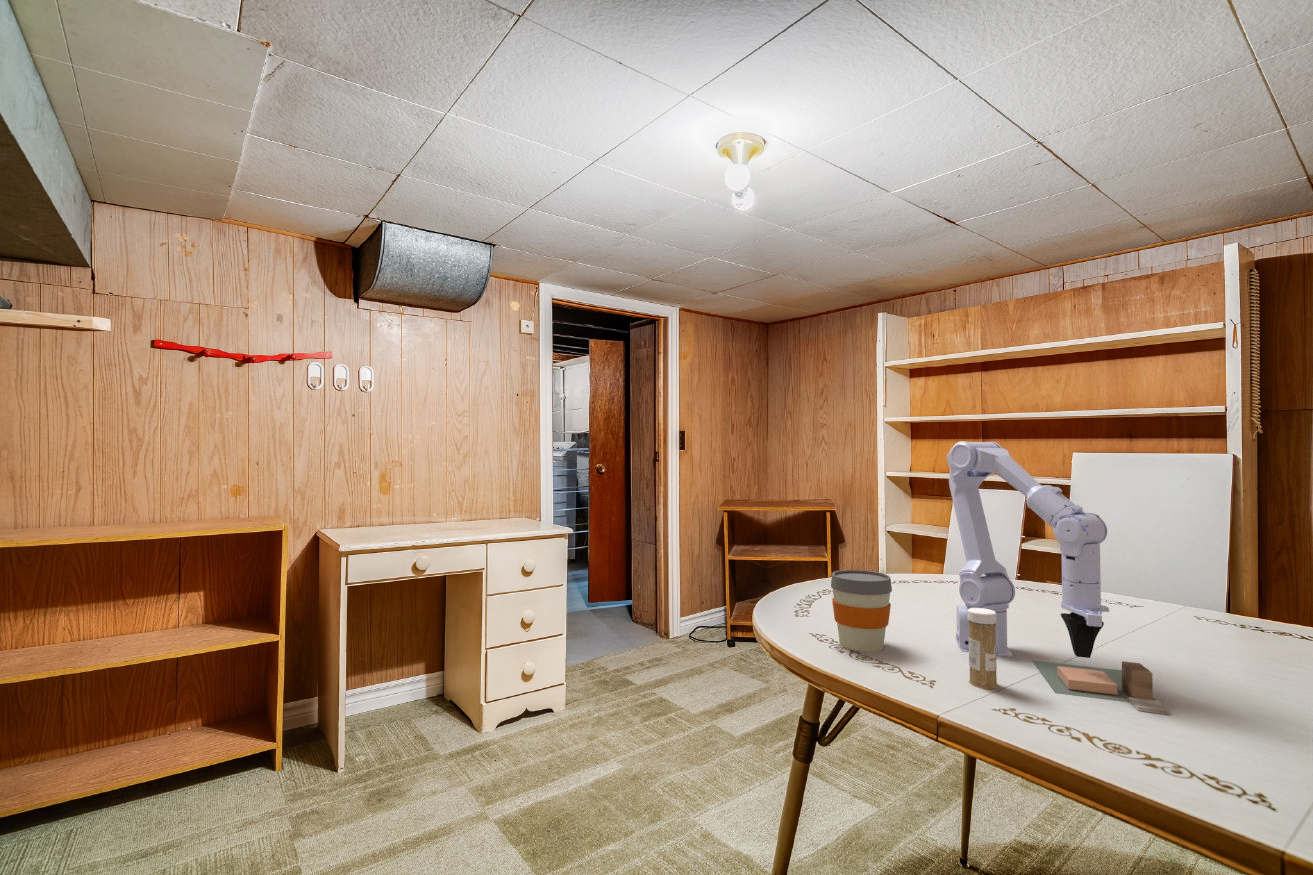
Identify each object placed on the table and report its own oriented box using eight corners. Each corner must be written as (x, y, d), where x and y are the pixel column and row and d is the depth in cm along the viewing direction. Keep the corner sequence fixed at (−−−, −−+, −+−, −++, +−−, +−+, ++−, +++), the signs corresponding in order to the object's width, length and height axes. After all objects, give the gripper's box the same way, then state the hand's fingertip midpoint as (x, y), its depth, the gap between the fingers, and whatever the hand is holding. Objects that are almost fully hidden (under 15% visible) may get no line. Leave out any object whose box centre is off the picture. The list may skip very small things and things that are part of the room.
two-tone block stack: (1117, 689, 103) (1116, 660, 103) (1145, 692, 102) (1144, 663, 102) (1138, 710, 95) (1137, 679, 95) (1169, 714, 93) (1168, 682, 93)
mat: (1055, 695, 102) (1055, 692, 102) (1031, 662, 117) (1031, 660, 117) (1163, 708, 96) (1163, 706, 96) (1123, 672, 112) (1123, 670, 112)
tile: (1057, 675, 109) (1068, 690, 103) (1057, 666, 109) (1068, 679, 103) (1103, 681, 107) (1117, 696, 100) (1102, 671, 107) (1117, 685, 100)
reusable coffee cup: (892, 658, 120) (891, 583, 120) (828, 650, 124) (827, 578, 125) (892, 640, 131) (892, 572, 132) (833, 633, 136) (833, 567, 136)
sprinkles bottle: (1000, 692, 103) (999, 614, 103) (971, 689, 104) (970, 612, 104) (994, 682, 107) (993, 608, 107) (966, 679, 108) (965, 605, 109)
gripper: (1123, 591, 99) (1124, 673, 99) (1093, 574, 112) (1095, 646, 112) (1073, 587, 101) (1074, 667, 101) (1050, 571, 115) (1051, 642, 115)
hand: (1082, 656), depth 107 cm, fingers closed
